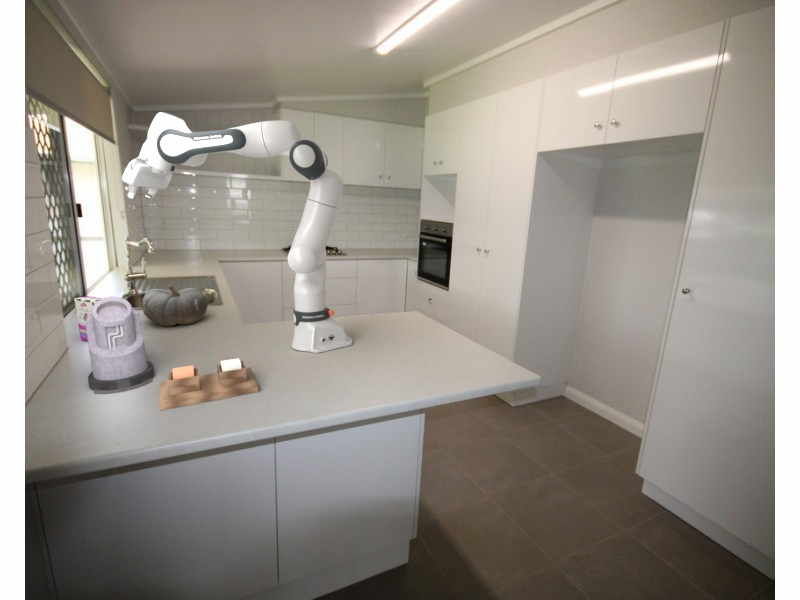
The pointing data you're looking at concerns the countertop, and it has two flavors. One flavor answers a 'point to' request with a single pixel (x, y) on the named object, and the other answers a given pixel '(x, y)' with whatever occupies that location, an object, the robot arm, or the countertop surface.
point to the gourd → (174, 306)
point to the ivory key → (230, 365)
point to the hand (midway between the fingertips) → (139, 198)
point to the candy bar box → (84, 313)
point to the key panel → (206, 387)
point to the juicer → (116, 348)
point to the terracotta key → (183, 372)
